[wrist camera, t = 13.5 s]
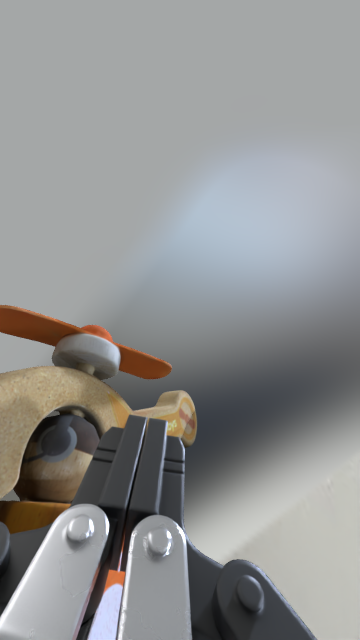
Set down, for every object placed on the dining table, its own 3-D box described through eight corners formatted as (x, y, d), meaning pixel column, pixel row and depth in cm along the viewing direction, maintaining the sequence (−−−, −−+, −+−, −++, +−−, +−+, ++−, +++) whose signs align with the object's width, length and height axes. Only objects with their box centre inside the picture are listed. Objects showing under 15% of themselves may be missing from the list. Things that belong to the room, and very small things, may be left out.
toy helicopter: (-239, 844, 6) (-168, 311, 10) (160, 484, 25) (136, 346, 29) (-29, 1087, 3) (-34, 218, 7) (243, 476, 22) (205, 324, 26)
